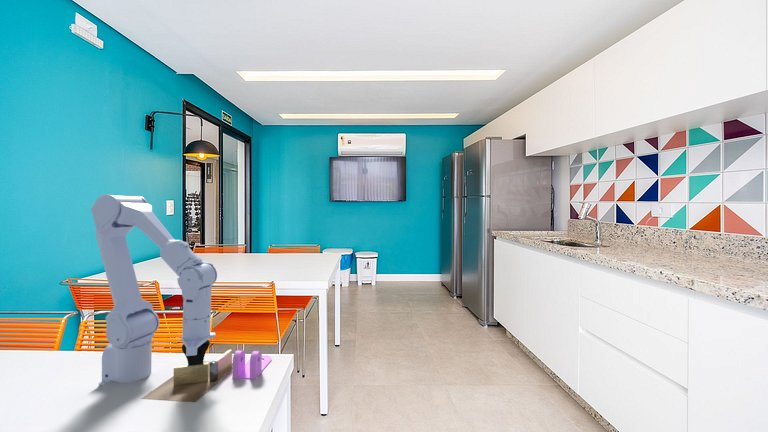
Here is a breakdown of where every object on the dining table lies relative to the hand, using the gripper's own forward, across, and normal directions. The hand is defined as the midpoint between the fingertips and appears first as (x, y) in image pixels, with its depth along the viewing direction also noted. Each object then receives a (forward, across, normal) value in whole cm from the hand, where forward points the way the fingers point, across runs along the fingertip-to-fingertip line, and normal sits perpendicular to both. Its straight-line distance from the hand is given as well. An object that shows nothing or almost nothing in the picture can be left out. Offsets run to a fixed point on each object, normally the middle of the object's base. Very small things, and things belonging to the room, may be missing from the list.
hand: (195, 374), depth 84 cm
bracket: (+3, +4, -13) cm, 14 cm away
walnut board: (+3, +1, 0) cm, 3 cm away
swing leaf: (+1, -1, +1) cm, 2 cm away
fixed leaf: (+2, +2, -5) cm, 6 cm away
